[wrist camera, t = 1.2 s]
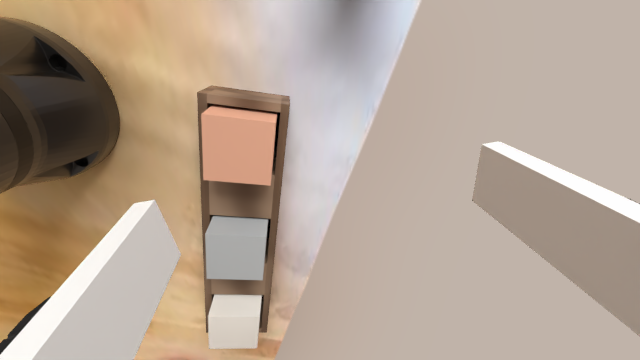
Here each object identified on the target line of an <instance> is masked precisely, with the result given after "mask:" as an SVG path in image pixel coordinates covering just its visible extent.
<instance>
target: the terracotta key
mask: <svg viewBox="0 0 640 360" xmlns="http://www.w3.org/2000/svg"><path fill="white" fill-rule="evenodd" d="M201 123H202V153H203V180H209V181H221V182H233V183H245V184H257V185H269V186H271V178H272V169H273V159H274V147H275V135H276V123H277V112H274V111H266V110H258V109H250V108H243V107H235V106H227V105H219V104H213V105H212V106H211V107H209V108H208V109H207V110H206V111H204V112H203V113H202V114H201Z"/></svg>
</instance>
